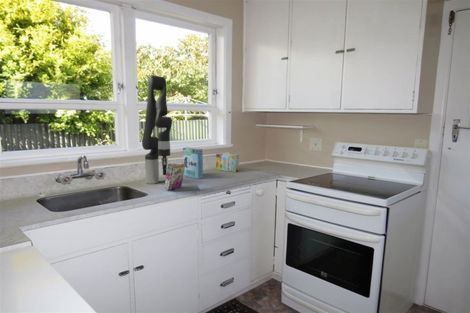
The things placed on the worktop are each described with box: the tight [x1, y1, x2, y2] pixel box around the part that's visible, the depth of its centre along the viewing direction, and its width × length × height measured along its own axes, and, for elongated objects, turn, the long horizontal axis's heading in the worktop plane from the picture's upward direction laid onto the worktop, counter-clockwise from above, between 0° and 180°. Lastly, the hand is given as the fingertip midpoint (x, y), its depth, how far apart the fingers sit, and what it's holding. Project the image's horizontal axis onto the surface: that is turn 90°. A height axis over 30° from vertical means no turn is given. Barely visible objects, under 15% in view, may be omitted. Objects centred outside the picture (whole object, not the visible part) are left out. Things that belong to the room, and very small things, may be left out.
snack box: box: [215, 152, 240, 173], centre depth 270 cm, size 21×6×15 cm, turn 58°
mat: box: [173, 184, 201, 193], centre depth 204 cm, size 15×16×1 cm
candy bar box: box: [163, 162, 185, 191], centre depth 200 cm, size 11×5×16 cm, turn 144°
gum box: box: [182, 146, 204, 180], centre depth 241 cm, size 20×5×23 cm, turn 45°
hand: (164, 174), depth 197 cm, fingers closed
